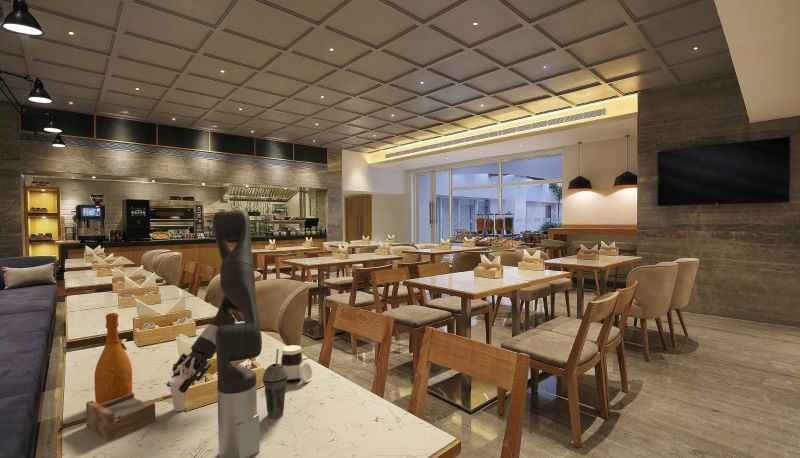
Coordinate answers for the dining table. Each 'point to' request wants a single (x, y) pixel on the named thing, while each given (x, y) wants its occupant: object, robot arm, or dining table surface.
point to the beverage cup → (275, 388)
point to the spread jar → (295, 365)
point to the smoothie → (176, 394)
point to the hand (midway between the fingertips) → (175, 389)
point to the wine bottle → (112, 366)
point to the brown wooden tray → (119, 416)
